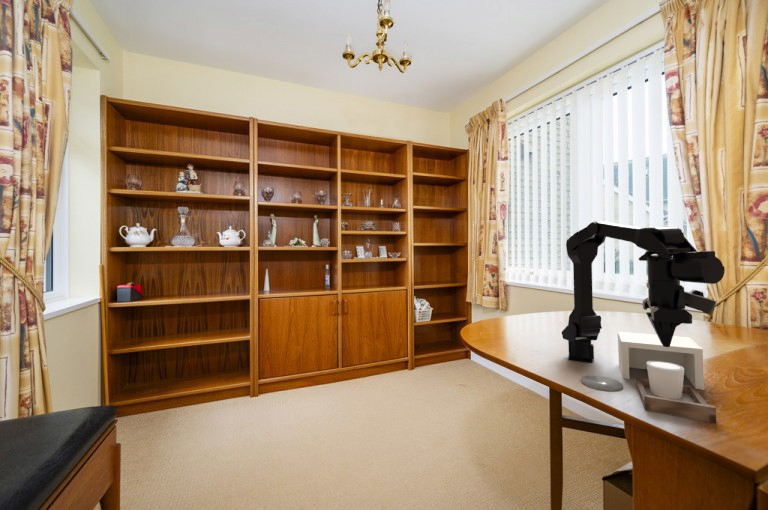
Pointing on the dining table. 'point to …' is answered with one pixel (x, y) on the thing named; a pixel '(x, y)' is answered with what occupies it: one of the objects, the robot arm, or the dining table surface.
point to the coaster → (601, 383)
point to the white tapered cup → (665, 379)
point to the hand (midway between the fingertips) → (665, 345)
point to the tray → (677, 404)
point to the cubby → (660, 354)
